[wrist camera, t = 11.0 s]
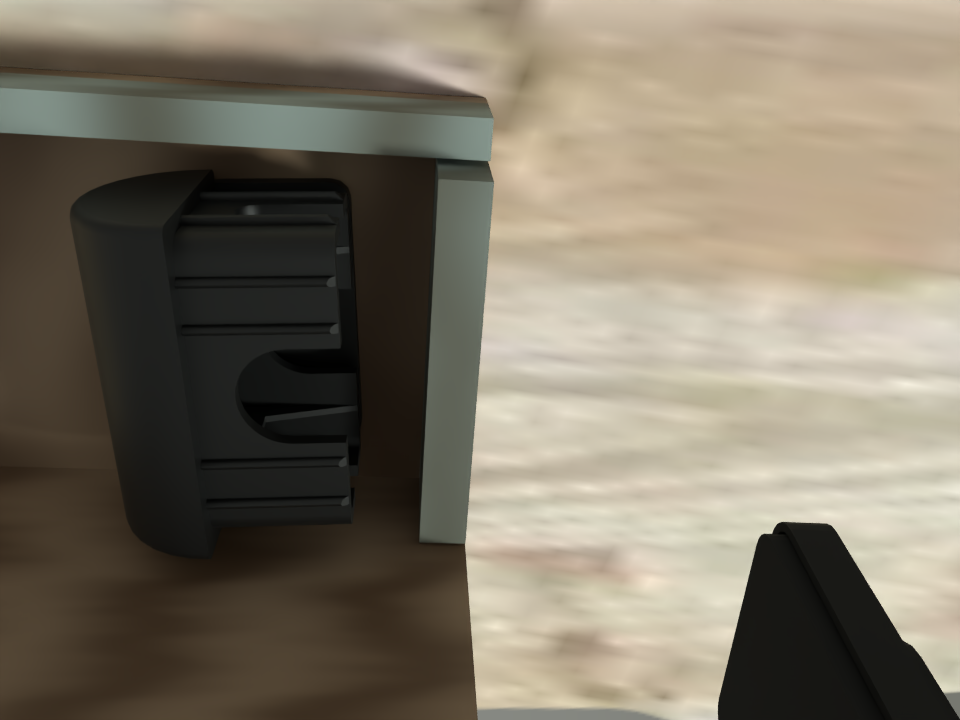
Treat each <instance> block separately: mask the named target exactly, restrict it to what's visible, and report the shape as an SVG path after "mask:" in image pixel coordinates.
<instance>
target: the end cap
mask: <svg viewBox="0 0 960 720" xmlns="http://www.w3.org/2000/svg"><path fill="white" fill-rule="evenodd" d="M70 223H71V228H72V233H73V238H74V244H75V249H76V254H77V260H78V265H79V270H80V275H81V281H82V286H83V291H84V297H85V302H86V307H87V312H88V318H89V323H90V328H91V334H92V339H93V344H94V349H95V355H96V360H97V365H98V371H99V376H100V381H101V386H102V392H103V397H104V402H105V408H106V413H107V418H108V423H109V429H110V434H111V439H112V445H113V450H114V455H115V460H116V466H117V471H118V476H119V482H120V487H121V492H122V497H123V503H124V508H125V513H126V519H127V521H128V523H129V526H130V528H131V530H132V532H133V533H134V534H135V535H136V536H137V537H138V538H139V539H140V540H141V541H142V542H143V543H145V544H146V545H148V546H150V547H151V548H153V549H155V550H157V551H160V552H163V553H166V554H169V555H172V556H178V557H184V558H190V559H211V558H212V556H213V553H214V549H215V546H216V543H217V540H218V537H219V534H220V531H221V528H222V527H256V526H294V525H331V524H352V523H353V516H354V507H355V488H350V476H358V472H359V463H360V450H361V437H360V428H361V424H362V401H361V381H360V362H359V342H358V323H357V304H356V284H355V265H354V245H353V226H352V207H351V195H350V192H349V189H348V187H347V186H346V185H345V184H344V183H343V182H342V181H340V180H336V179H332V178H242V179H214V173H213V170H212V169H206V170H184V171H171V172H162V173H154V174H148V175H142V176H136V177H131V178H127V179H122V180H118V181H115V182H111V183H108V184H105V185H102V186H99V187H97V188H95V189H92V190H90V191H88V192H87V193H85V194H83V195H82V196H80V197H79V198H78V199H77V200H76V201H75V202H74V204H73V205H72V206H71V209H70Z"/></svg>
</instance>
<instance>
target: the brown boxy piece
mask: <svg viewBox="0 0 960 720" xmlns="http://www.w3.org/2000/svg"><path fill="white" fill-rule="evenodd" d="M493 120H494V118H493V116H492V113H491V110H490V108H489V105H488V103H487V100H486V98H480V97H464V96H449V95H433V94H417V93H402V92H386V91H371V90H355V89H339V88H324V87H308V86H292V85H277V84H261V83H246V82H230V81H214V80H199V79H183V78H168V77H152V76H136V75H121V74H105V73H89V72H74V71H58V70H43V69H27V68H11V67H0V720H478V719H477V704H476V691H475V677H474V663H473V649H472V636H471V622H470V608H469V594H468V581H467V567H466V553H465V540H466V527H467V514H468V502H469V489H470V477H471V464H472V452H473V439H474V426H475V414H476V401H477V389H478V376H479V364H480V351H481V338H482V326H483V313H484V301H485V288H486V276H487V263H488V250H489V238H490V225H491V213H492V200H493V187H494V181H493V177H492V174H491V170H490V167H489V163H488V161H490V159H491V146H492V133H493ZM206 169H212V170H213V173H214V179H242V178H332V179H336V180H340V181H342V182H343V183H344V184H345V185H346V186H347V187H348V189H349V192H350V195H351V207H352V226H353V245H354V265H355V284H356V304H357V323H358V342H359V362H360V381H361V401H362V424H361V428H360V437H361V450H360V463H359V472H358V476H350V488H355V507H354V516H353V523H352V524H331V525H294V526H256V527H222V528H221V531H220V534H219V537H218V540H217V543H216V546H215V549H214V553H213V556H212V558H211V559H190V558H184V557H178V556H172V555H169V554H166V553H163V552H160V551H157V550H155V549H153V548H151V547H150V546H148V545H146V544H145V543H143V542H142V541H141V540H140V539H139V538H138V537H137V536H136V535H135V534H134V533H133V532H132V530H131V528H130V526H129V523H128V521H127V519H126V513H125V508H124V503H123V497H122V492H121V487H120V482H119V476H118V471H117V466H116V460H115V455H114V450H113V445H112V439H111V434H110V429H109V423H108V418H107V413H106V408H105V402H104V397H103V392H102V386H101V381H100V376H99V371H98V365H97V360H96V355H95V349H94V344H93V339H92V334H91V328H90V323H89V318H88V312H87V307H86V302H85V297H84V291H83V286H82V281H81V275H80V270H79V265H78V260H77V254H76V249H75V244H74V238H73V233H72V228H71V223H70V209H71V206H72V205H73V204H74V202H75V201H76V200H77V199H78V198H79V197H80V196H82V195H83V194H85V193H87V192H88V191H90V190H92V189H95V188H97V187H99V186H102V185H105V184H108V183H111V182H115V181H118V180H122V179H127V178H131V177H136V176H142V175H148V174H154V173H162V172H171V171H184V170H206Z"/></svg>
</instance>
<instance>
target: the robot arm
mask: <svg viewBox="0 0 960 720" xmlns="http://www.w3.org/2000/svg"><path fill="white" fill-rule="evenodd" d="M718 720H960V719H959V717H958V716H957V714H956V713H955V711H954V709H953V708H952V706H951V705H950V703H949V701H948V700H947V698H946V696H945V695H944V693H943V692H942V690H941V688H940V687H939V685H938V684H937V682H936V680H935V679H934V677H933V675H932V674H931V672H930V671H929V669H928V667H927V666H926V664H925V663H924V661H923V659H922V658H921V656H920V655H919V654H918V653H917V651H916V650H915V649H914V648H913V646H911V645H909V644H908V643H906V642H904V641H903V640H902V639H901V637H900V635H899V634H898V632H897V630H896V629H895V627H894V626H893V624H892V622H891V621H890V619H889V617H888V616H887V614H886V612H885V611H884V609H883V607H882V606H881V604H880V603H879V601H878V599H877V598H876V596H875V594H874V593H873V591H872V589H871V588H870V586H869V585H868V583H867V581H866V580H865V578H864V576H863V575H862V573H861V571H860V570H859V568H858V566H857V565H856V563H855V562H854V560H853V558H852V557H851V555H850V553H849V552H848V550H847V548H846V547H845V545H844V543H843V542H842V540H841V539H840V537H839V535H838V534H837V532H836V531H835V529H834V528H833V527H832V526H831V525H828V524H822V523H795V522H781V523H778V524H777V525H776V527H775V528H774V530H773V533H772V534H763V535H761V536H760V538H759V540H758V543H757V546H756V550H755V554H754V558H753V562H752V566H751V570H750V574H749V578H748V582H747V587H746V591H745V595H744V599H743V603H742V607H741V611H740V615H739V619H738V623H737V627H736V631H735V635H734V639H733V644H732V648H731V652H730V656H729V660H728V664H727V668H726V672H725V676H724V680H723V684H722V688H721V692H720V697H719V702H718Z"/></svg>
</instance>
